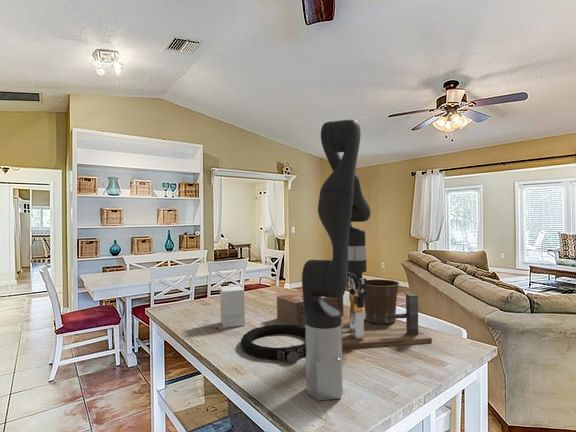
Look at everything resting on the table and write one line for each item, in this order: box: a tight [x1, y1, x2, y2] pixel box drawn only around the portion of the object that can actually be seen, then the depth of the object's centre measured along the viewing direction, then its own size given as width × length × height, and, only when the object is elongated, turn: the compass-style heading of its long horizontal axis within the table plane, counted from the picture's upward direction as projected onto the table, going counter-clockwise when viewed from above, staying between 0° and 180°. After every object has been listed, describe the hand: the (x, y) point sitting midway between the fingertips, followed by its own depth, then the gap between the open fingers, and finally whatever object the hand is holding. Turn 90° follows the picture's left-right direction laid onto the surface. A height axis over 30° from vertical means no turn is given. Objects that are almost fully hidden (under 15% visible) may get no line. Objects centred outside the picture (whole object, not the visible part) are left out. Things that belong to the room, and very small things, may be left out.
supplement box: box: [219, 285, 246, 329], centre depth 145 cm, size 9×9×15 cm
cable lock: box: [240, 323, 306, 364], centre depth 120 cm, size 28×4×30 cm
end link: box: [342, 293, 365, 339], centre depth 122 cm, size 6×9×15 cm, turn 98°
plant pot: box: [364, 279, 400, 325], centre depth 147 cm, size 16×16×16 cm
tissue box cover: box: [276, 291, 344, 327], centre depth 153 cm, size 26×14×10 cm, turn 124°
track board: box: [342, 293, 433, 350], centre depth 124 cm, size 12×34×16 cm, turn 98°
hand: (356, 304), depth 123 cm, fingers open, 7 cm apart
